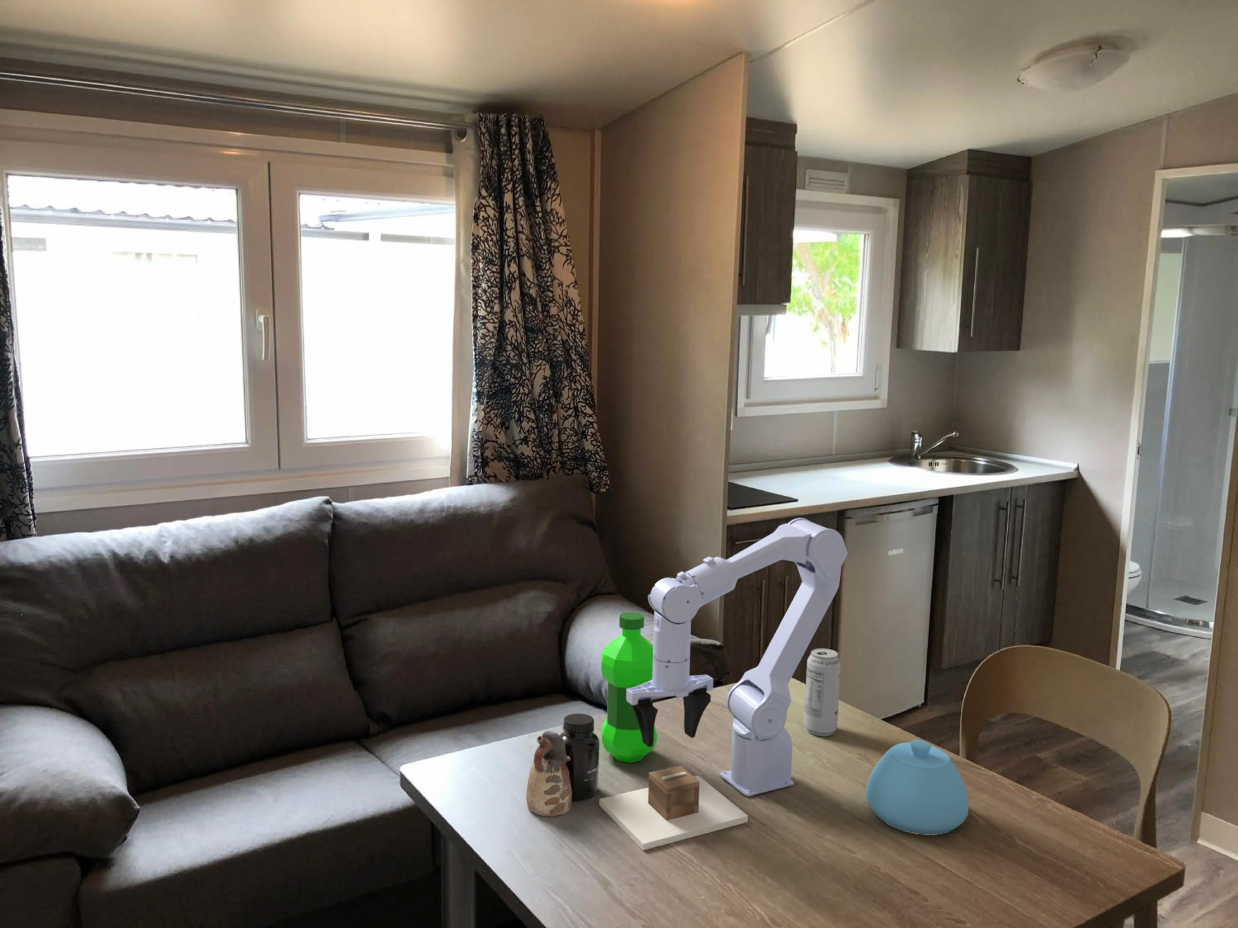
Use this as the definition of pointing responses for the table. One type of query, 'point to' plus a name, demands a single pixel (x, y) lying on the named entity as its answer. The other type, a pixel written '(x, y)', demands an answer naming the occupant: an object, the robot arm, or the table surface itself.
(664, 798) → the walnut knob
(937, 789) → the sugar bowl
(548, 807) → the figurine
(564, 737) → the supplement bottle
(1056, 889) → the table surface
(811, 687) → the energy drink can
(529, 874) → the table surface
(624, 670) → the plastic bottle
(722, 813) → the board
